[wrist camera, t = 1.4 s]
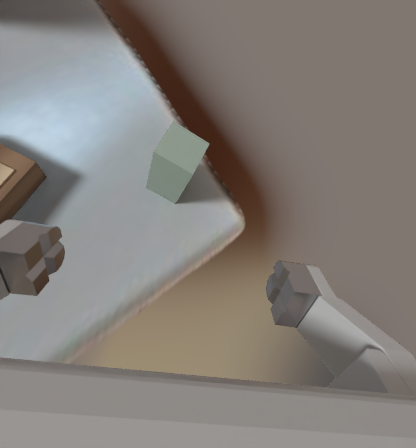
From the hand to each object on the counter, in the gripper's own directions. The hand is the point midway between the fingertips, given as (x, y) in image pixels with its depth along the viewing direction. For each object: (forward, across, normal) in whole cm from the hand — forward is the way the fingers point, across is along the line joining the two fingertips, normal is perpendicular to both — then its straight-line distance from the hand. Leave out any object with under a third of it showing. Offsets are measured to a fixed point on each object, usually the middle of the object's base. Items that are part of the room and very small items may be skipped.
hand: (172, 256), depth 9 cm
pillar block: (+27, +3, +9) cm, 28 cm away
